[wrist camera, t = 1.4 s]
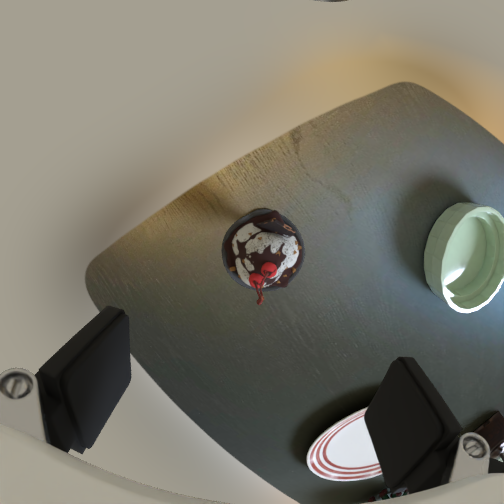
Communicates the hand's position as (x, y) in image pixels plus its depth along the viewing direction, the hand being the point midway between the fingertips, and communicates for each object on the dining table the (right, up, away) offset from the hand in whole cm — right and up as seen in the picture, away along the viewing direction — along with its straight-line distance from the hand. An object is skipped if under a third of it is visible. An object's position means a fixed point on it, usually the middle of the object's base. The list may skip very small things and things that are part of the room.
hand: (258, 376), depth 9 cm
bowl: (+29, +4, +23) cm, 37 cm away
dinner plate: (+23, -31, +33) cm, 51 cm away
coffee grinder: (+61, -45, +35) cm, 84 cm away
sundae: (+1, +7, +24) cm, 25 cm away
